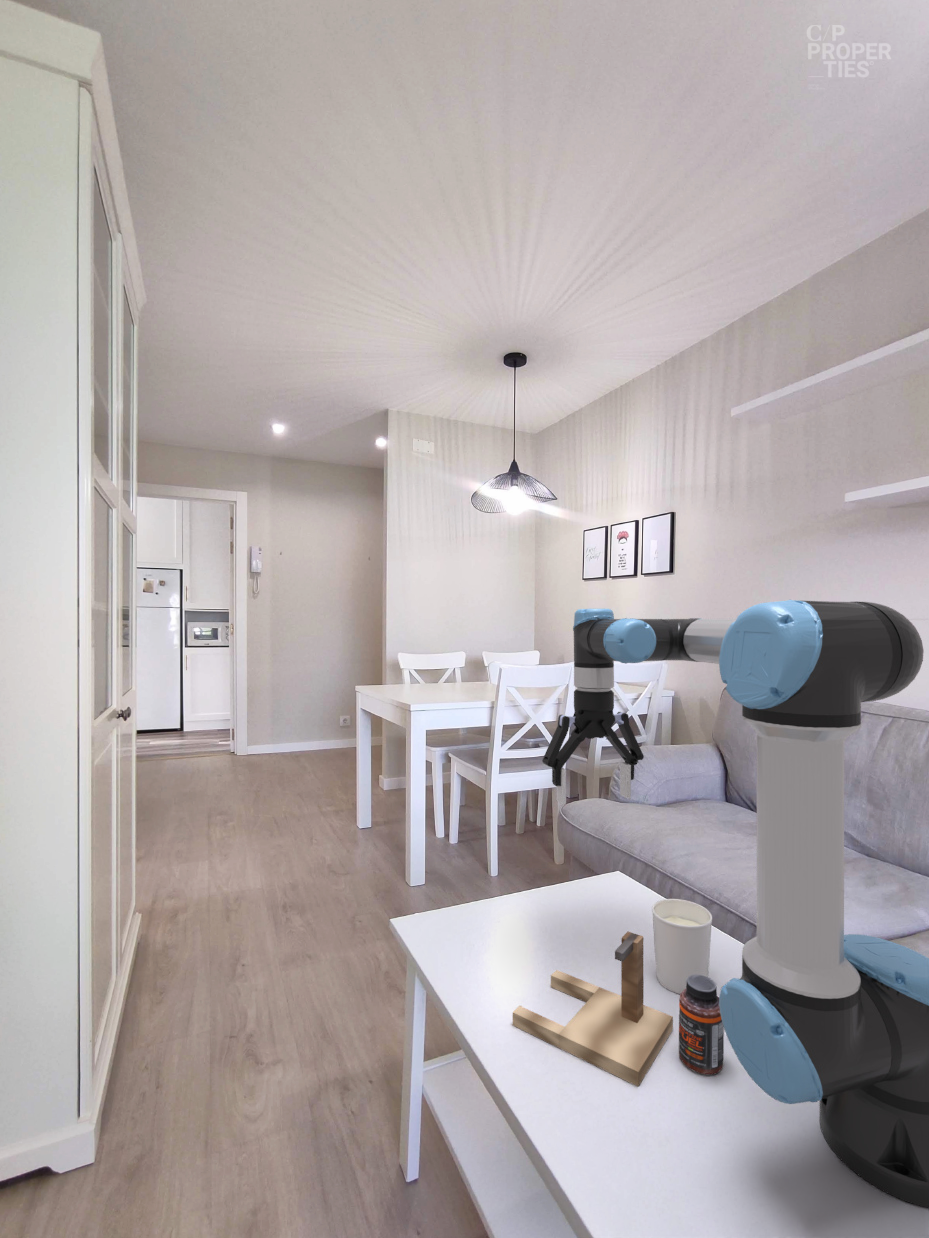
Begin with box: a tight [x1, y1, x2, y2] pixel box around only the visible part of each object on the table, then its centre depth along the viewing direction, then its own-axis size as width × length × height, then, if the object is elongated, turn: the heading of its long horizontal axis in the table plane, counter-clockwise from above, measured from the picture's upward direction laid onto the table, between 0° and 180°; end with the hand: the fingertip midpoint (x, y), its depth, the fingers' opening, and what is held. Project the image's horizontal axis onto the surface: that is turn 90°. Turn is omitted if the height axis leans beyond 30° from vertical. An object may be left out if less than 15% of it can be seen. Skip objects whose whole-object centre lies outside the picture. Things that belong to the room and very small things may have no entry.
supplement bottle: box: [678, 975, 725, 1076], centre depth 85 cm, size 6×6×11 cm
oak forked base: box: [512, 969, 674, 1087], centre depth 92 cm, size 20×14×2 cm
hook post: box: [614, 931, 644, 1023], centre depth 90 cm, size 2×6×12 cm, turn 143°
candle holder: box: [651, 898, 713, 995], centre depth 104 cm, size 10×10×12 cm
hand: (593, 799), depth 115 cm, fingers open, 13 cm apart
